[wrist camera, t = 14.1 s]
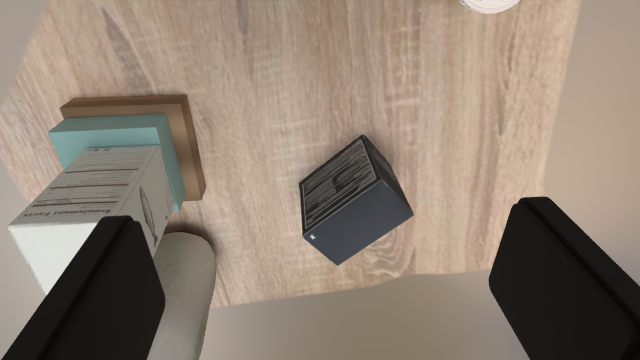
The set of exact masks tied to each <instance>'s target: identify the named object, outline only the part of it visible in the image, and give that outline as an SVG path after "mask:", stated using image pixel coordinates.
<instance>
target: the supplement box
mask: <svg viewBox="0 0 640 360" xmlns="http://www.w3.org/2000/svg"><path fill="white" fill-rule="evenodd" d="M174 205H175V202H174V199H173V195H172V192H171V189H170V185H169V181H168V177H167V173H166V169H165V165H164V161H163V156H162V151H161V146H160V145H145V146H125V147H105V148H87V149H85V150H84V151H83V152H82V153H81V154H80V155H79V156H78V157H77V158H76V159H75V160H74V161H73V162H71V163H70V165H69V166H67V168H66V169H65V170H64V171H63V172H62V173H61V174H59V176H58V177H57V178H56V179H55V180H54V181H53V182H52V183H51V184H50V185H49V186H48V187H47V188H46V189H45V190H44V191H43V192H42V193H41V194H40V195H39V196H38V197H37V198H36V199H35V200H34V201H33V202H32V203H31V204H30V205H29V206H28V207H27V208H26V209H25V210H24V211H23V212H22V213H21V214H20V215H19V216H18V217H17V218H16V219H15V220H14V221H12V222H11V223H10V224H9V225H8V230H9V232H10V234H11V235H12V238H13V239H14V241H15V242H16V244H17V246H18V248H19V250H20V251H21V253H22V255H23V257H24V258H25V260H26V262H27V264H28V266H29V268H30V269H31V271H32V272H33V275H34V276H35V278H36V280H37V281H38V283H39V285H40V287H41V289H42V291H43V292H44V294H45V297H46V296H47V294H48V293H49V291H50V290H51V289H52V287H53V286H54V284H55V283H56V281H57V280H58V279H59V277H60V276H61V274H62V273H63V272H64V270H65V269H66V267H67V266H68V264H69V263H70V262H71V260H72V259H73V257H74V256H75V255H76V253H77V252H78V250H79V249H80V247H81V246H82V245H83V243H84V242H85V240H86V239H87V238H88V236H89V235H90V233H91V232H92V230H93V229H94V228H95V226H96V225H97V223H98V222H99V220H100V219H101V218H102V217H105V216H121V215H129V216H131V217H132V218H133V220H134V221H139V222H140V223H141V226H142V229H143V232H144V234H145V237H146V240H147V243H148V246H149V249H150V252H151V255H152V258H153V257H154V255H155V252H156V249H157V247H158V245H159V242H160V240H161V237H162V235H163V233H164V230H165V228H166V225H167V223H168V220H169V218H170V216H171V213H172V210H173V208H174Z"/></svg>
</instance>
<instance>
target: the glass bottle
mask: <svg viewBox="0 0 640 360" xmlns="http://www.w3.org/2000/svg"><path fill="white" fill-rule="evenodd" d="M153 261H154V264H155V267H156V270H157V273H158V276H159V279H160V282H161V285H162V288H163V291H164V294H165V300H166V302H165V309H164V312H163V315H162V318H161V321H160V324H159V327H158V329H157V332H156V335H155V338H154V341H153V344H152V346H151V349H150V352H149V355H148V358H147V360H199V357H200V354H201V350H202V346H203V341H204V336H205V330H206V324H207V319H208V312H209V308H210V304H211V300H212V295H213V291H214V286H215V279H216V258H215V254H214V252H213V250H212V248H211V246H210V245H209V243H208V242H207V241H206V240H204V239H203V238H201V237H199V236H197V235H194V234H190V233H185V232H174V233H169V234H165V235H163V236H162V237H161V240H160V242H159V245H158V247H157V249H156V252H155V255H154V257H153Z"/></svg>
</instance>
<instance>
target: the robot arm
mask: <svg viewBox="0 0 640 360" xmlns="http://www.w3.org/2000/svg"><path fill="white" fill-rule="evenodd" d="M489 286H490V290H491V292H492V294H493V296H494V297H495V299H496V301H497V302H498V304H499V306H500V308H501V310H502V311H503V313H504V315H505V317H506V318H507V320H508V322H509V324H510V325H511V327H512V329H513V331H514V332H515V334H516V336H517V337H518V339H519V341H520V343H521V344H522V346H523V348H524V350H525V351H526V353H527V355H528V357H529V358H530V360H640V286H639V285H638V284H637V283H636V282H635V281H634V280H633V279H632V278H631V277H630V276H629V275H627V273H625V272H624V271H623V270H622V269H621V268H620V267H619V266H618V265H617V264H616V263H615V262H614V261H613V260H612V259H611V258H610V257H609V256H608V255H607V254H606V253H605V252H604V251H603V250H602V249H601V248H600V247H599V246H598V245H597V244H596V243H595V242H594V241H593V240H592V239H591V238H590V237H589V236H588V235H587V234H586V233H584V231H583V230H582V229H581V228H580V227H579V226H578V225H577V224H575V223H574V222H573V221H572V220H571V219H570V218H569V217H568V216H567V215H566V214H565V213H564V212H563V211H562V210H561V209H560V208H559V207H558V206H557V205H556V204H555V203H554V202H553V201H552V200H551V199H550V198H548V197H524V198H521V199H520V200H519V201H518V203H516V204H514V205H513V206H512V208H511V211H510V214H509V217H508V220H507V224H506V227H505V230H504V233H503V236H502V239H501V242H500V245H499V248H498V251H497V254H496V258H495V261H494V264H493V267H492V270H491V273H490V276H489ZM165 302H166V300H165V294H164V291H163V288H162V285H161V282H160V279H159V276H158V273H157V270H156V267H155V264H154V261H153V258H152V255H151V252H150V249H149V246H148V243H147V240H146V237H145V234H144V232H143V229H142V226H141V223H140V222H139V221H134V220H133V218H132V217H131V216H129V215H121V216H105V217H102V218H101V219H100V220H99V222H98V223H97V225H96V226H95V228H94V229H93V230H92V232H91V233H90V235H89V236H88V238H87V239H86V240H85V242H84V243H83V245H82V246H81V247H80V249H79V250H78V252H77V253H76V255H75V256H74V257H73V259H72V260H71V262H70V263H69V264H68V266H67V267H66V269H65V270H64V272H63V273H62V274H61V276H60V277H59V279H58V280H57V281H56V283H55V284H54V286H53V287H52V289H51V290H50V291H49V293H48V294H47V296H46V297H45V299H44V300H43V301H42V303H41V304H40V306H39V307H38V308H37V310H36V311H35V313H34V314H33V316H32V317H31V318H30V320H29V321H28V323H27V324H26V325H25V327H24V328H23V330H22V331H21V332H20V334H19V335H18V337H17V338H16V340H15V341H14V343H13V344H12V345H11V347H10V348H9V349H8V351H7V353H6V354H5V355H4V357H3V358H2V359H1V360H147V358H148V355H149V352H150V349H151V346H152V344H153V341H154V338H155V335H156V332H157V329H158V327H159V324H160V321H161V318H162V315H163V312H164V309H165Z"/></svg>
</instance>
